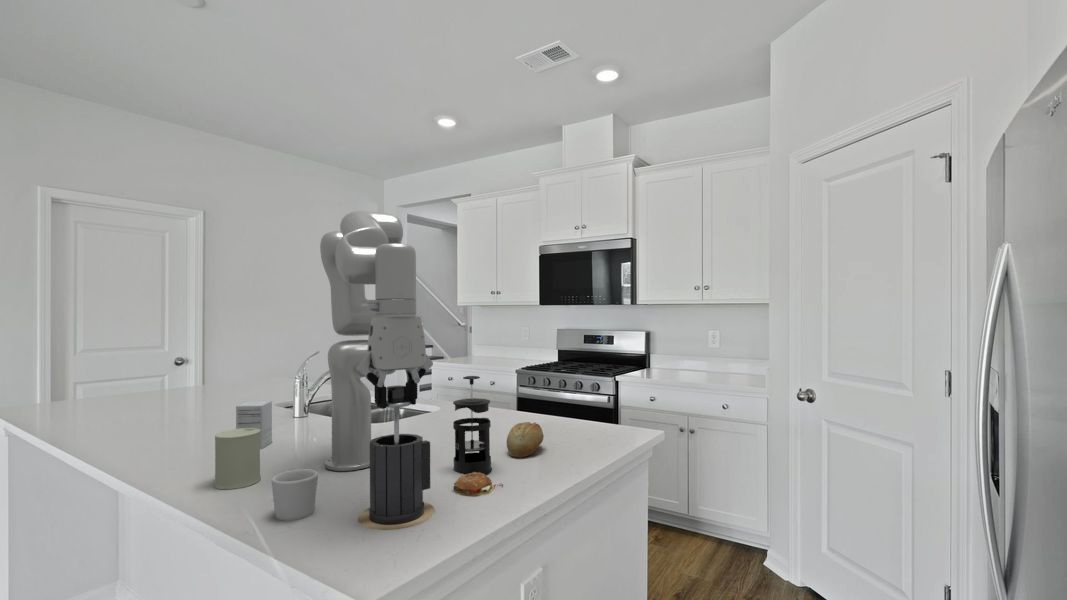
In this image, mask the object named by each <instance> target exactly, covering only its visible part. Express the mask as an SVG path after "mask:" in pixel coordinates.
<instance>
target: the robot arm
mask: <svg viewBox="0 0 1067 600" xmlns="http://www.w3.org/2000/svg"><path fill="white" fill-rule="evenodd" d="M339 227H340V230H335V231H329V232H326V233H325V234H323V235H322V237H321V239H320V243H319V244H320V245H319V246H320V247H319V249H320V258H321V259H320V260H321V263H322V266H323V268H324V272H325V274H326V276H327V279H328V281H329V282H328V283H329V286H330V303H331V304H330V305H331V321H332V327H333V331H334V332H335V333H336V334H337V335H339V336H345V337H346V336H347V337H348V336H352V337H358V336H368V338H367V339H353V340H342V341H338V342H335V343H333V344H332V345H331V346H330V347H329V349H328V352H327V363H328V364H327V365H328V370H329V376H330V377H329V378H330V385H331V386H330V388H331V457H330V458H328V459H326V461H325V462H324V463H325V468H326V470H329V471H335V472H347V471H348V472H350V471H358V470H361V469H362V470H363V469H366V468H370V442H371V440H372V394H371V392H370V389H369V388H368V386H367V385H366V384H365V383H364V382H363V380H361V378H364V377H365V379H367V381H369V382H370V383H371V385H372V386H374V403H375V405H376V407H377V408H379V409H383V410H384V409H386V408H388V407H387V386H385V381H386V379H387V378H386V377H387V376H388V375H392V374H394V373H395V372H396V371H404V370H405V373H406V376H407V381H406V382H405V386H406V400H410V401H411V404H410V405H411V406H414V405H416V403H417V399H418V383H420V381H421V379H422V378H423V377H424V376H425V374H426V373H427V371H428V370H430V368H432V366H434V363H433V361H432V359H430V357H429V356H428V354H427V353H426V351H427V350H426V341H425V339H426V338H425V332H424V325H423V321H422V318H421V317H422V316H418V315H417V254H416V250H415V248H414V247H413V246H412V245H411V244H410V245H409V244H407V243H402V241H403V238H404V237H403V236H404V230H403V229H404V228H403V224H402V222H401V219H400V218H399V217H398V216H396V215H394V214H392V213H386V212H374V211H363V210H360V211H359V210H358V211H357V210H355V211H351V212H349V213H346V214H345V215H344V216H343V217H342V219H341V221H340V226H339ZM365 285H375V286H374V288H375V289H374V291H375V294H374V295H375V296H374V298H375V299H367V298H366V292H365V290H366V289H365Z"/></svg>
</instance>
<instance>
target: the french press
mask: <svg viewBox="0 0 1067 600" xmlns="http://www.w3.org/2000/svg"><path fill="white" fill-rule="evenodd" d="M480 378H481V377H480V376H477V375H468V376H467V375H466V376H463V378H462V379H463V380H469V385H470V398H463V399H457V400H453V403H452V404H453V405H454V412H456V411H458V410H461V409H466V408H467V409H469V410H470V411H471V412H470V416H471V417H467V418H461V419H457V420H454V421H453V429H454V439H455V440H454V447H455V448H454V453H455V454H454V455H455V456H454V457H453V471H454V472H456V473H458V474H461V475H465V474H469V473H474V472H477V473H482V474H485V475H486V476H488V475H490V474H491V473H492V472H491V471H493V468H492V456H491V455H490V453H491V452H490V450H491V449H490V448H491V447H490V446H491V445H490V444H491V443H490V429H491V420H490V419H489V417H473V416H474V415H473V414H474V413H476V414H482V413H486V412H488V411H489V405H490V403H491V400H489V399H486V398H477V397H476V398H474V397H473V385H474V383H475V381H474V380H477V379H478V380H479V379H480ZM466 424H471V425H466ZM474 424H476V425H474ZM477 424H478V425H477ZM466 432H470V433H471V434H470V435H471V439H470V440H466ZM474 432H478V440H474Z"/></svg>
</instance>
